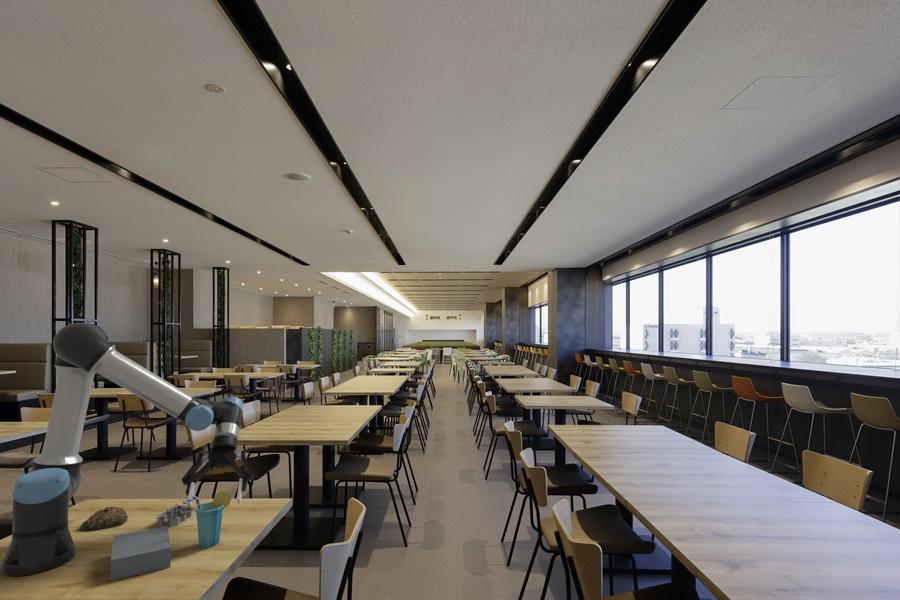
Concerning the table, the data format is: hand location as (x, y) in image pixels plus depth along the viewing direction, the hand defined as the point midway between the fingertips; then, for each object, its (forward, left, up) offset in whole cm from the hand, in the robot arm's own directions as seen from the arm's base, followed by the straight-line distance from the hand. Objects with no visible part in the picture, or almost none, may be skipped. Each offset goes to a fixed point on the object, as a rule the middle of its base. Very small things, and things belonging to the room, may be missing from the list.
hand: (214, 503), depth 148 cm
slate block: (-18, -4, -11) cm, 21 cm away
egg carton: (-9, +24, -11) cm, 27 cm away
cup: (-2, -3, -11) cm, 11 cm away
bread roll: (-28, +35, -11) cm, 46 cm away
